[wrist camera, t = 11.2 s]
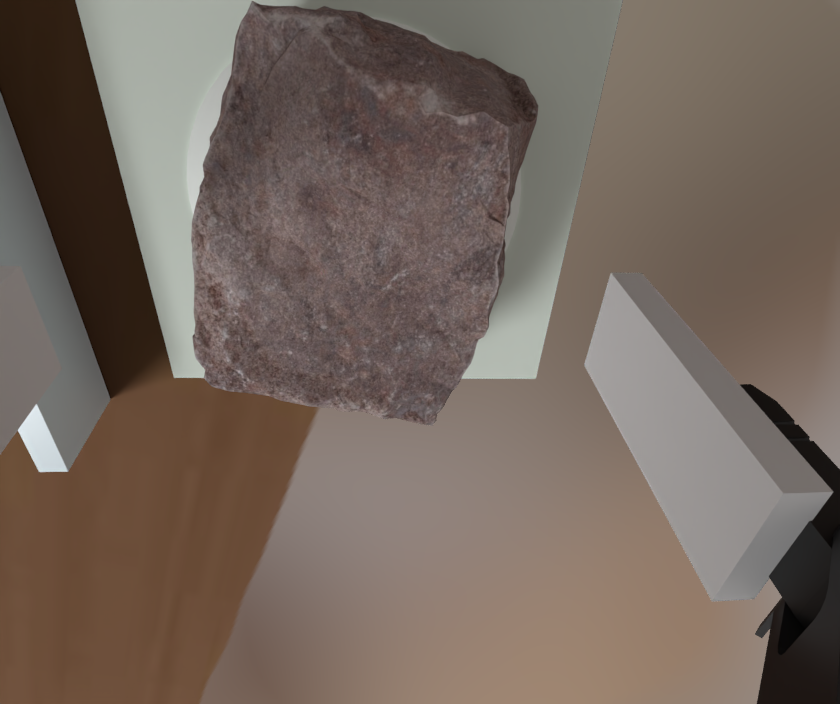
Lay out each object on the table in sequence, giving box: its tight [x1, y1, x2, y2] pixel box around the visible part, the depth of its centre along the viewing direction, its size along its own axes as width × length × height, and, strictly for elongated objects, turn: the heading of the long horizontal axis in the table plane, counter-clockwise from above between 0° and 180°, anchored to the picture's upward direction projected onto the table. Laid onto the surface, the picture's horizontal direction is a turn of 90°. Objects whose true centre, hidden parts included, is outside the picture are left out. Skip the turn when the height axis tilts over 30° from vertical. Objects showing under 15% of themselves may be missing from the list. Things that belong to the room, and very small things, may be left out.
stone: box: [191, 1, 538, 425], centre depth 17 cm, size 12×9×5 cm
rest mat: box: [75, 0, 623, 379], centre depth 19 cm, size 15×15×1 cm
